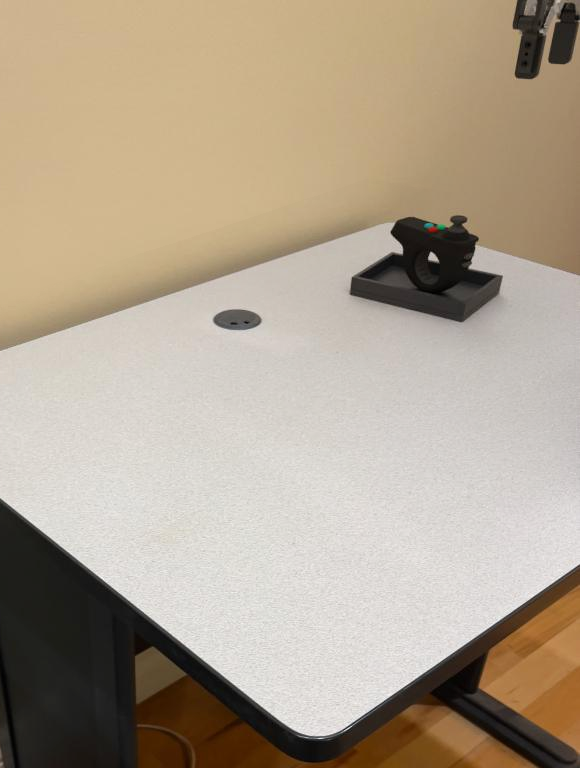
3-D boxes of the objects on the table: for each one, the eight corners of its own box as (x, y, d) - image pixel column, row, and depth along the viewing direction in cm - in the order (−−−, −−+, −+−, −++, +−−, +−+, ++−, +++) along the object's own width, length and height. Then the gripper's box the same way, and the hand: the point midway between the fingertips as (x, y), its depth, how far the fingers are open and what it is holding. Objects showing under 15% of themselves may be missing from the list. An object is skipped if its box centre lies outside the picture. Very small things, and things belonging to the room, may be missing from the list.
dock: (499, 293, 119) (503, 275, 118) (462, 322, 113) (465, 303, 112) (389, 268, 128) (391, 251, 126) (349, 294, 122) (351, 276, 120)
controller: (449, 306, 115) (464, 227, 109) (379, 279, 123) (389, 203, 117) (472, 298, 117) (488, 219, 110) (402, 271, 125) (413, 196, 118)
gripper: (597, -130, 76) (552, 86, 86) (652, -139, 84) (605, 60, 94) (510, -125, 80) (477, 81, 90) (571, -134, 88) (534, 57, 98)
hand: (542, 70), depth 92 cm, fingers open, 8 cm apart
